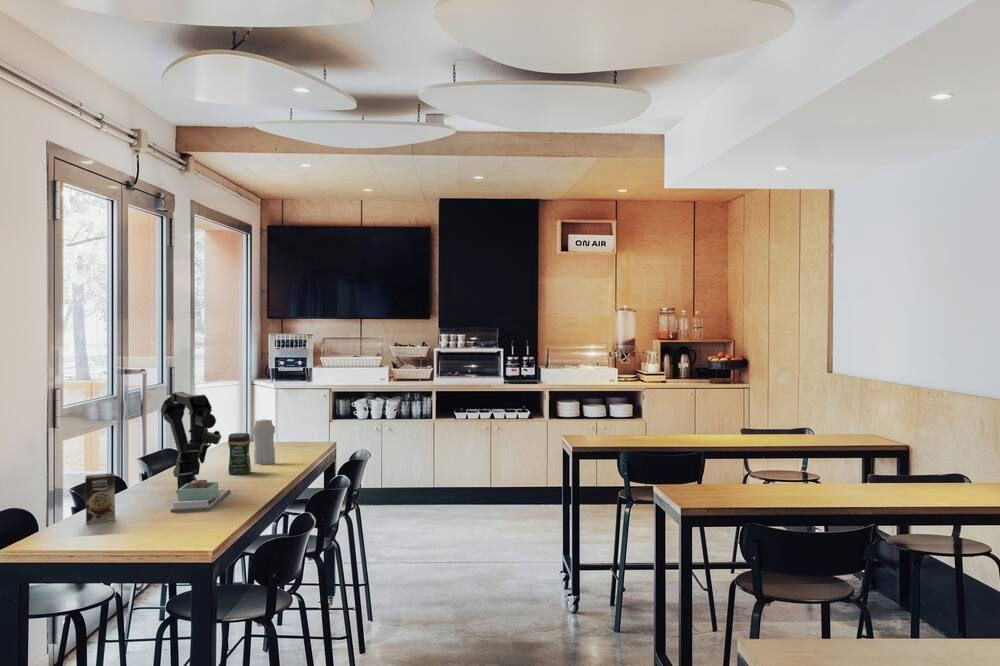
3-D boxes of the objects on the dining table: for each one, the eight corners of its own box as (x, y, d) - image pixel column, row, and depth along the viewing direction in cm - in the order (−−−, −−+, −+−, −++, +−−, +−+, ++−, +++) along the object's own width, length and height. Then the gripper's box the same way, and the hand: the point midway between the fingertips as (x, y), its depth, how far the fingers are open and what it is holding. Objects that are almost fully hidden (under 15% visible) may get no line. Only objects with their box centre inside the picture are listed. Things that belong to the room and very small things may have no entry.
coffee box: (86, 525, 258) (84, 478, 258) (86, 520, 264) (85, 475, 264) (115, 521, 262) (114, 475, 262) (115, 517, 268) (114, 472, 268)
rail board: (170, 512, 273) (170, 502, 273) (194, 493, 303) (194, 485, 303) (210, 510, 275) (210, 500, 275) (230, 491, 305) (230, 483, 305)
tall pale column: (252, 465, 364) (251, 420, 363) (254, 463, 368) (253, 419, 367) (275, 464, 365) (273, 419, 364) (276, 462, 369) (275, 418, 368)
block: (190, 496, 282) (189, 483, 282) (193, 493, 287) (193, 480, 287) (203, 495, 283) (203, 482, 283) (207, 492, 288) (206, 479, 288)
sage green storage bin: (178, 505, 278) (177, 489, 278) (187, 498, 290) (187, 483, 290) (210, 504, 280) (210, 488, 280) (218, 496, 291) (218, 481, 291)
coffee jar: (226, 475, 340) (225, 434, 340) (232, 472, 348) (230, 432, 348) (248, 474, 340) (246, 434, 340) (253, 471, 348) (251, 431, 348)
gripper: (212, 428, 292) (213, 468, 292) (224, 422, 310) (225, 460, 311) (182, 429, 291) (184, 470, 291) (196, 423, 309) (197, 461, 309)
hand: (199, 465), depth 300 cm, fingers open, 9 cm apart
